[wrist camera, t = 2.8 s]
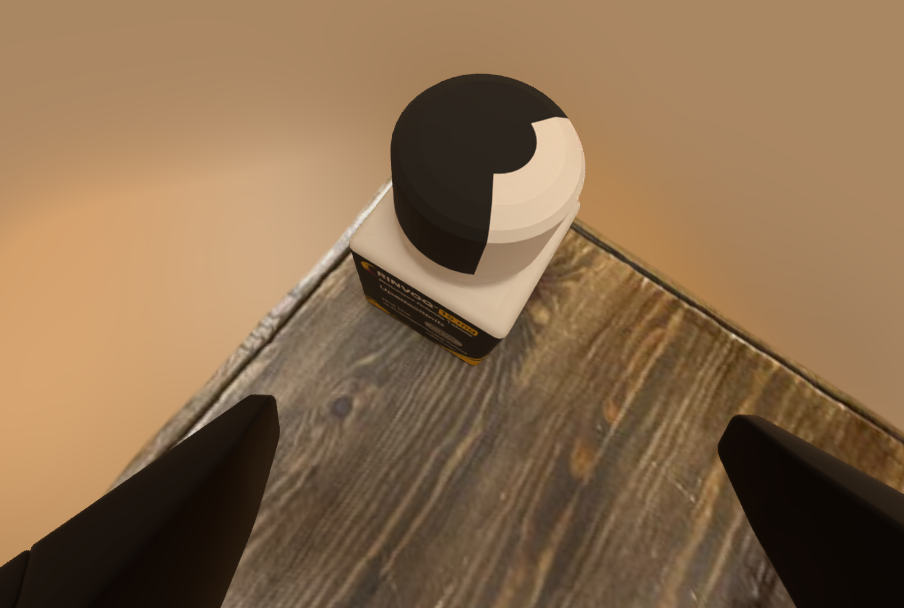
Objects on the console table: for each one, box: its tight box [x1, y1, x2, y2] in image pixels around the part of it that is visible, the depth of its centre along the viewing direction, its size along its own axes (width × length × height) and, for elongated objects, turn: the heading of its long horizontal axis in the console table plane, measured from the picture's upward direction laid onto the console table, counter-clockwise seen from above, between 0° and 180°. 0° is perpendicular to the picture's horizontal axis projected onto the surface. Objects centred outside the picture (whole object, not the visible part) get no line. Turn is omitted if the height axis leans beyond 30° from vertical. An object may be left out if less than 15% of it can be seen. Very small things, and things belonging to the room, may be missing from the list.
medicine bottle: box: [349, 74, 585, 366], centre depth 18 cm, size 7×7×12 cm
